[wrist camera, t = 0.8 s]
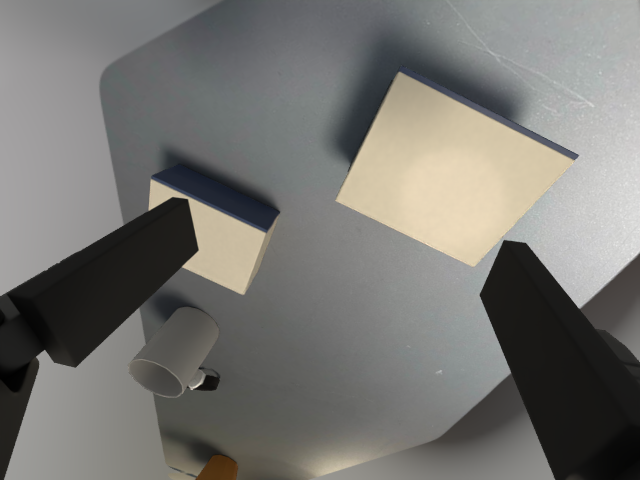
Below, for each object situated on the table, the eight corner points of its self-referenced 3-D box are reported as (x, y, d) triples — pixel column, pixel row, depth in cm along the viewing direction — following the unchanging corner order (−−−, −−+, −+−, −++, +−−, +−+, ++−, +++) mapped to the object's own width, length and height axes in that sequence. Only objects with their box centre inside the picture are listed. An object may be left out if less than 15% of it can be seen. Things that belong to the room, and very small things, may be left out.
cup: (216, 348, 50) (182, 404, 42) (173, 332, 51) (130, 384, 42) (221, 317, 46) (183, 373, 37) (173, 299, 46) (125, 351, 38)
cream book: (400, 65, 20) (401, 65, 18) (560, 147, 21) (580, 155, 18) (339, 190, 26) (334, 200, 24) (466, 251, 26) (473, 267, 24)
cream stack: (179, 162, 33) (149, 175, 29) (282, 210, 34) (267, 230, 29) (170, 231, 39) (144, 251, 35) (258, 272, 39) (243, 296, 35)
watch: (216, 368, 54) (205, 386, 51) (225, 384, 56) (216, 402, 53) (183, 367, 56) (171, 384, 53) (193, 382, 58) (183, 400, 55)
